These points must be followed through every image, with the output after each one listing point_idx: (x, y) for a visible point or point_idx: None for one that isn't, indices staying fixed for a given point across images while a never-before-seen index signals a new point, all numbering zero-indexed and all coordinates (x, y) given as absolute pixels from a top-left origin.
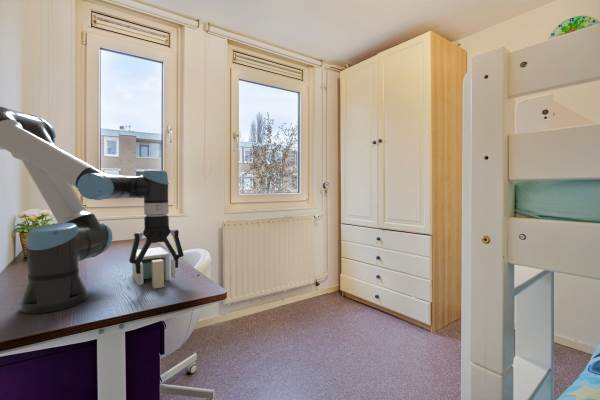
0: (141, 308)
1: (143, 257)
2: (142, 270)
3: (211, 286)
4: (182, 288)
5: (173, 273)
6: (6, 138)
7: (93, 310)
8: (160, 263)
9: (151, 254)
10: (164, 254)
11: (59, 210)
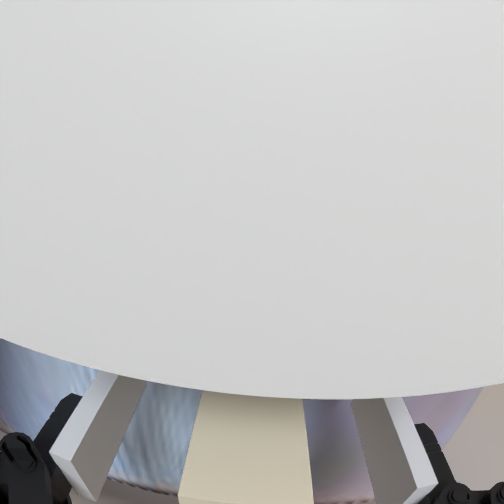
0: (148, 478)
1: (37, 340)
2: (109, 457)
3: (438, 441)
4: (353, 418)
5: (360, 431)
6: None
7: (18, 395)
8: None
9: (254, 191)
10: (493, 380)
11: None
